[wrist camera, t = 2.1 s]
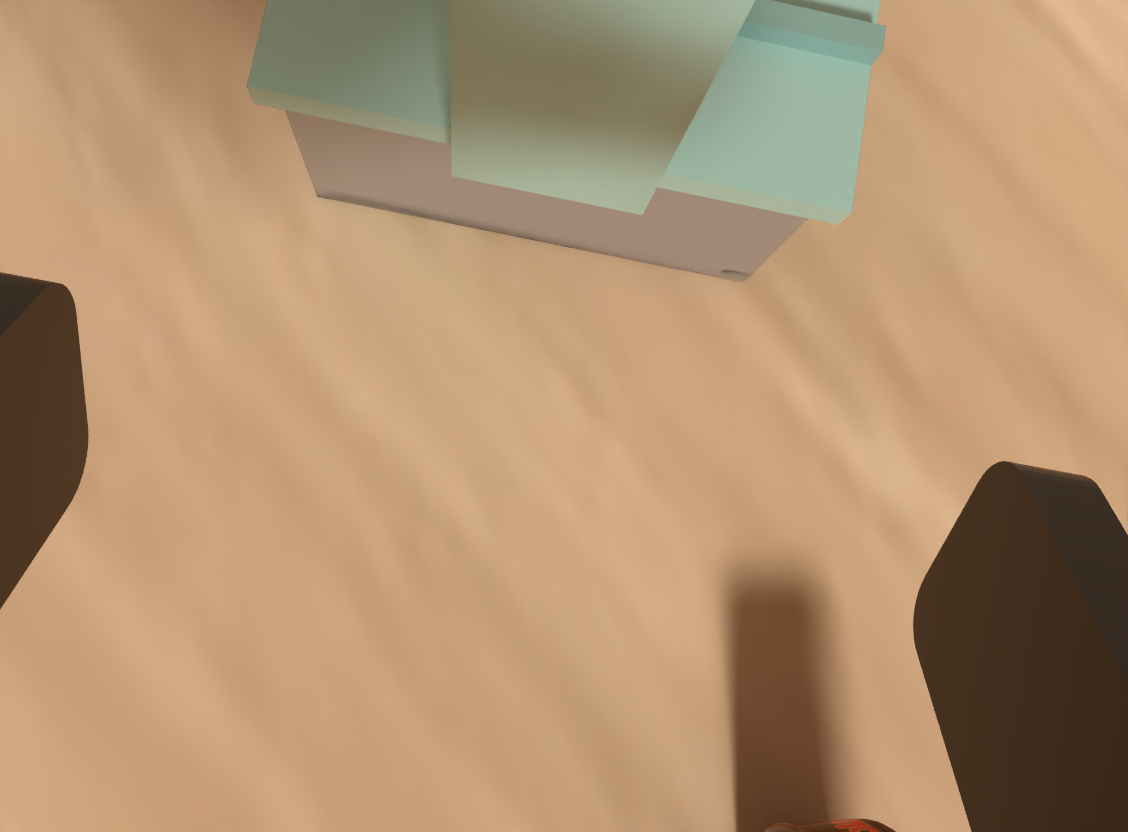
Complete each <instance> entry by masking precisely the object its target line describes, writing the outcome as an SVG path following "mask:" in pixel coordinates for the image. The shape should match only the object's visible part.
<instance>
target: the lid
mask: <svg viewBox="0 0 1128 832" xmlns="http://www.w3.org/2000/svg"><path fill="white" fill-rule="evenodd" d="M879 4H880V0H267V4H266V8H265V12H264V16H263V21H262V25H261V29H260V33H259V37H258V41H257V45H256V50H255V54H254V58H253V62H252V66H251V70H250V75H249V79H248V83H247V88H248V90H249V93H250V95H251V97H252V99H253V102H254V104H258V105H263V106H268V107H272V108H277V109H282V110H287V111H292V112H297V113H301V114H306V115H311V116H316V117H321V118H326V119H330V120H335V121H340V122H345V123H350V124H355V125H359V126H364V127H369V128H374V129H379V130H383V131H388V132H393V133H398V134H403V135H408V136H412V137H417V138H422V139H427V140H432V141H437V142H441V143H446V144H451V156H452V176H454V177H458V178H463V179H468V180H473V181H478V182H483V183H488V184H493V185H497V186H502V187H507V188H512V189H517V190H522V191H527V192H532V193H536V194H541V195H546V196H551V197H556V198H561V199H566V200H571V201H576V202H580V203H585V204H590V205H595V206H600V207H605V208H610V209H615V210H619V211H624V212H629V213H634V214H639V215H643V213H644V211H645V209H646V207H647V205H648V203H649V202H650V200H651V198H652V196H653V194H654V192H655V190H656V188H657V187H658V188H663V189H668V190H673V191H678V192H683V193H687V194H692V195H697V196H702V197H707V198H712V199H716V200H721V201H726V202H731V203H736V204H741V205H745V206H750V207H755V208H760V209H765V210H769V211H774V212H779V213H784V214H789V215H794V216H798V217H803V218H808V219H813V220H818V221H823V222H827V223H832V224H837V225H838V224H839V223H840V222H841V221H843V220H844V219H845V218H846V217H847V216H848V215H849V214H850V213H851V212H852V206H853V199H854V192H855V184H856V177H857V169H858V162H859V154H860V147H861V139H862V132H863V124H864V117H865V109H866V102H867V94H868V87H869V79H870V72H871V65H872V64H873V63H874V62H875V60H876V59H877V58H878V57H879V56H880V54H881V53H882V52H883V45H884V37H885V30H886V26H884V25H879V24H877V19H878V12H879Z"/></svg>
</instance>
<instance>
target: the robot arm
mask: <svg viewBox="0 0 1128 832" xmlns="http://www.w3.org/2000/svg"><path fill="white" fill-rule="evenodd" d="M87 450H88V423H87V413H86V403H85V394H84V384H83V374H82V364H81V354H80V345H79V335H78V325H77V315H76V308H75V303H74V300H73V297H72V295H71V293H70V291H69V290H68V288H67V287H66V286H64V285H63V284H60V283H55V282H49V281H44V280H39V279H33V278H28V277H22V276H17V275H12V274H6V273H1V272H0V609H1V607H2V606H3V604H4V603H5V601H6V600H7V598H8V597H9V595H10V594H11V592H12V591H13V589H14V588H15V586H16V585H17V583H18V582H19V580H20V579H21V577H22V576H23V574H24V573H25V571H26V570H27V568H28V567H29V565H30V564H31V562H32V560H33V559H34V557H35V556H36V554H37V553H38V551H39V550H40V548H41V547H42V545H43V544H44V542H45V541H46V539H47V538H48V536H49V535H50V533H51V532H52V530H53V529H54V527H55V526H56V524H57V523H58V521H59V520H60V518H61V517H62V515H63V514H64V512H65V511H66V509H67V508H68V506H69V504H70V503H71V501H72V499H73V497H74V495H75V493H76V491H77V489H78V486H79V484H80V481H81V478H82V475H83V471H84V467H85V463H86V457H87ZM913 631H914V642H915V647H916V651H917V654H918V658H919V661H920V664H921V668H922V671H923V674H924V677H925V681H926V684H927V687H928V690H929V694H930V697H931V700H932V704H933V707H934V710H935V713H936V717H937V720H938V723H939V726H940V730H941V733H942V736H943V739H944V743H945V746H946V749H947V753H948V756H949V759H950V762H951V766H952V769H953V772H954V775H955V779H956V782H957V785H958V789H959V792H960V795H961V798H962V802H963V805H964V808H965V811H966V815H967V818H968V821H969V825H970V828H971V831H972V832H1128V535H1127V533H1126V532H1125V530H1124V528H1123V526H1122V525H1121V523H1120V521H1119V520H1118V518H1117V516H1116V515H1115V513H1114V511H1113V510H1112V508H1111V506H1110V505H1109V503H1108V501H1107V499H1106V498H1105V496H1104V494H1103V493H1102V491H1101V489H1100V488H1099V487H1098V485H1097V484H1096V483H1095V482H1094V481H1093V480H1092V479H1090V478H1088V477H1086V476H1082V475H1076V474H1071V473H1066V472H1060V471H1055V470H1049V469H1044V468H1039V467H1033V466H1028V465H1023V464H1017V463H1012V462H1005V461H1002V462H998V463H996V464H994V465H992V466H991V467H990V468H989V469H988V470H987V471H986V472H985V473H984V474H983V476H982V477H981V479H980V480H979V482H978V484H977V485H976V487H975V489H974V491H973V493H972V494H971V496H970V498H969V500H968V501H967V503H966V505H965V507H964V508H963V510H962V512H961V514H960V516H959V517H958V519H957V521H956V523H955V524H954V526H953V528H952V530H951V531H950V533H949V535H948V537H947V539H946V540H945V542H944V544H943V546H942V547H941V549H940V551H939V553H938V554H937V556H936V558H935V560H934V562H933V563H932V565H931V567H930V569H929V570H928V572H927V574H926V576H925V578H924V580H923V582H922V584H921V586H920V589H919V592H918V596H917V599H916V604H915V610H914V621H913Z"/></svg>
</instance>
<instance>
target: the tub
mask: <svg viewBox="0 0 1128 832" xmlns="http://www.w3.org/2000/svg"><path fill="white" fill-rule="evenodd" d="M285 112H286V114H287V117H288V120H289V122H290V125H291V128H292V130H293V133H294V136H295V138H296V141H297V144H298V146H299V149H300V152H301V154H302V157H303V160H304V162H305V165H306V168H307V170H308V173H309V176H310V178H311V181H312V184H313V186H314V189H315V192H316V194H317V197H322V198H327V199H332V200H337V201H342V202H347V203H352V204H357V205H362V206H367V207H372V208H377V209H382V210H387V211H392V212H397V213H402V214H407V215H412V216H417V217H422V218H427V219H432V220H437V221H442V222H447V223H452V224H457V225H461V226H466V227H471V228H476V229H481V230H486V231H491V232H496V233H501V234H506V235H511V236H516V237H521V238H526V239H531V240H536V241H541V242H546V243H551V244H556V245H561V246H566V247H571V248H576V249H581V250H586V251H591V252H596V253H601V254H605V255H610V256H615V257H620V258H625V259H630V260H635V261H640V262H645V263H650V264H655V265H660V266H665V267H670V268H675V269H680V270H685V271H690V272H695V273H700V274H705V275H710V276H715V277H720V278H725V279H730V280H735V281H740V282H745V281H746V280H747V279H748V278H749V277H750V276H751V275H752V274H753V273H754V272H755V271H756V270H757V269H758V268H759V267H760V266H761V265H762V264H763V263H764V262H765V261H766V260H767V259H768V258H769V257H770V256H771V255H772V254H773V253H774V252H775V251H776V250H777V249H778V248H779V247H780V246H781V245H782V244H783V243H784V242H785V241H786V240H787V239H788V238H789V237H790V236H791V235H792V234H793V233H794V232H795V231H796V230H797V229H798V228H799V227H800V226H801V225H802V224H803V223H804V222H805V221H806V220H807V219H808V218H803V217H798V216H794V215H789V214H784V213H779V212H774V211H769V210H765V209H760V208H755V207H750V206H745V205H741V204H736V203H731V202H726V201H721V200H716V199H712V198H707V197H702V196H697V195H692V194H687V193H683V192H678V191H673V190H668V189H663V188H658V187H657V188H656V190H655V192H654V194H653V196H652V198H651V200H650V202H649V203H648V205H647V207H646V209H645V211H644V213H643V215H639V214H634V213H629V212H624V211H619V210H615V209H610V208H605V207H600V206H595V205H590V204H585V203H580V202H576V201H571V200H566V199H561V198H556V197H551V196H546V195H541V194H536V193H532V192H527V191H522V190H517V189H512V188H507V187H502V186H497V185H493V184H488V183H483V182H478V181H473V180H468V179H463V178H458V177H454V176H452V156H451V144H446V143H441V142H437V141H432V140H427V139H422V138H417V137H412V136H408V135H403V134H398V133H393V132H388V131H383V130H379V129H374V128H369V127H364V126H359V125H355V124H350V123H345V122H340V121H335V120H330V119H326V118H321V117H316V116H311V115H306V114H301V113H297V112H292V111H287V110H285Z"/></svg>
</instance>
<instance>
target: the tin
mask: <svg viewBox="0 0 1128 832" xmlns="http://www.w3.org/2000/svg"><path fill="white" fill-rule="evenodd" d="M764 832H896V831H894V830H892V829H891V828H889V827H888V826H886V825H884V824H882V823H879V822H877V821H873V820H868V819H847V820H838V821H829V822H822V823H815V824H808V825H795V824H791V823H785V822H780V823H776V824H773V825H771V826H769V827H768V828H767V829H765V831H764Z"/></svg>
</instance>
